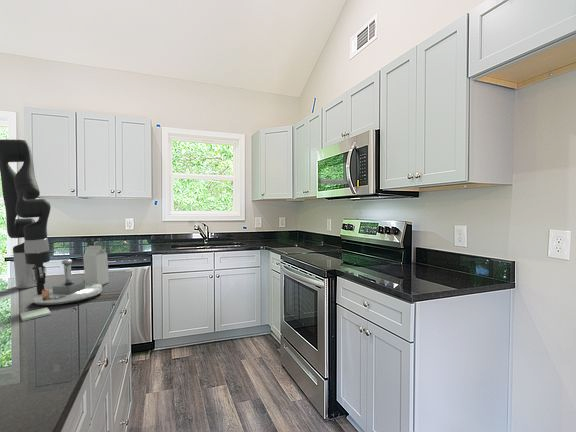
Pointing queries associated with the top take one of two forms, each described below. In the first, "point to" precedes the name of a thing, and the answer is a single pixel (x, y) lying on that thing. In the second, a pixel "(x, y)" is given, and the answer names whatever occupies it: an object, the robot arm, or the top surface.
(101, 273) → the milk carton
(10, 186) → the robot arm
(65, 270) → the metal pin
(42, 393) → the top surface
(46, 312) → the pad
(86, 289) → the light grey disc
